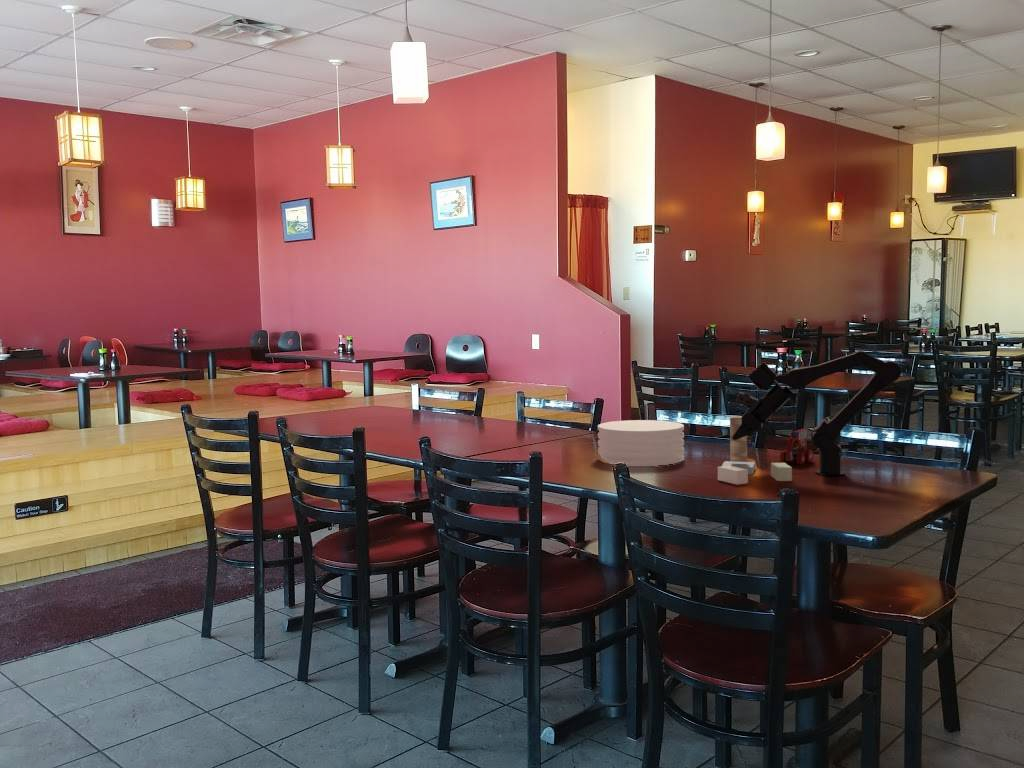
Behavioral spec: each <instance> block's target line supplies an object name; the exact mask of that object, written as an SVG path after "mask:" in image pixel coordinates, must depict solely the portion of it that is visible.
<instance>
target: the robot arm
mask: <svg viewBox="0 0 1024 768" xmlns="http://www.w3.org/2000/svg"><path fill="white" fill-rule="evenodd" d="M858 366H862V367H864V368H866V369H868V370H870V371H872V372H873V374H872V375H871V377H870V379H869V380H868V382H867V383H866V384H865V385H864V386H862V388H861V389H860V390H859V391H858V392H857V393H856V394H855V395H854V396H853V397H852V398H851V399H850V401H848V402H847V403H846V404H845V406H844V407H842V408H841V410H839V412H838V413H836V415H835V416H833V417H832V418H831V419H829V420H828V421H827V420H826V419H825V418H823V419H822V420H821V421H820V423H819V424H818V425H817V426H815V427H814V428H813V433H812V444H813V445H814V447H816V448H817V449H819V467H818V468H819V469H818V470H814V473H815V474H818V475H820V474H821V475H820V476H823V475H824V477H829V476H828V475H837V476H844V475H843V474H845V475H846V473H845V472H843V471H841V462H842V461H841V456H842V455H841V452H842V448H841V443H839V442H838V441H837V438H838V437H839V435H840V434H841V432H842V430H843V429H844V427H846V425H847V424H848V423H849V422H851V420H853V418H854V417H855V416H856V415H857V414H858V413H859V412H861V410H863V409H864V407H866V405H867V404H868V403H870V401H871V400H872V399H873V398H874V397H875V396H876V395H877V394H878V393H880V392H881V391H883V390H884V389H886V388H887V387H889V386H891V385H892V384H893V383H895V382H896V381H897V380H899V379H900V378H901V375H902V369H901V366H900V365H899V364H898V363H897V362H895V361H893V360H882V359H880V358H877V357H875V356H872V355H870V354H869V353H866V352H865V351H862V350H857V351H855V352H854V353H850V354H848V355H844V356H841V357H838V358H835V359H832V360H829V361H826V362H822V363H820V364H817V365H810V366H802V367H795V368H791V370H789V371H788V372H784V373H778V374H777V373H776V372H774V370H772V369H771V368H770V367H769V366H768V364H767V363H766V362H764V361H763V362H762V363H761V364H760V365H759V366H758V367H757V368H755V369H754V370H753V371H752V372H751V373H750V374H749V375H748V376H746V378H747V379H748V380H749V381H750V382H751V383H752V385H754V386H755V387H756V388H757V389H758V390H759V391H760V392H761V391H762V390H763V391H766V393H765V394H764V395H763V396H760V397H759V398H756V397H754V396H752V395H751V394H750V393H747V392H743V391H739V393H738V395H737V396H736V399H735V401H734V402H735V403H737V404H738V405H742V406H745V407H747V410H745V412H744V413H743V415H741V416H742V418H741V419H742V424H741V426H740V427H739V429H738V430H737V431H736V433H735V434H734V436H733V437H732V439H733V440H737V439H739V438H742V437H744V436H747V437H748V435H752V434H754V433H758V432H759V431H760V430H762V428H763V425H764V424H765V423H766V422H767V421H768V420H769V418H771V417H772V416H773V415H775V414H776V413H777V411H778V410H779V409H781V407H782V406H783V405H784V404H786V403H787V402H788V401H790V400H791V401H792V402H794V403H796V402H797V398H798V397H797V396H798V391H794V392H793V390H800V389H802V388H804V387H806V386H807V385H810V384H811V383H813V382H815V381H817V380H818V379H821V378H823V377H827V376H831V375H834V374H836V373H839V372H843V371H845V370H849V369H853V368H855V367H858ZM774 384H775V385H774ZM781 384H782V385H781ZM783 384H784V387H783ZM772 385H774V386H772ZM771 387H772V388H771ZM769 388H771V389H769ZM790 388H791V389H793V390H791V389H790ZM767 390H768V391H767Z"/></svg>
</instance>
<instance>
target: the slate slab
mask: <svg viewBox="0 0 1024 768" xmlns="http://www.w3.org/2000/svg"><path fill="white" fill-rule="evenodd" d="M755 462H756V461H755ZM755 462H754V461H730V460H729V461H727V460H724V462H722V465H721V466H733V467H738V468H743V469H747V470H748V475H753V474H754V472H755V469H756V463H755Z"/></svg>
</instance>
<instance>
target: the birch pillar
mask: <svg viewBox="0 0 1024 768" xmlns="http://www.w3.org/2000/svg"><path fill="white" fill-rule="evenodd" d="M742 416H743V415H731V416H730V417H729V438H730V439H729V445H730V446H729V449H730V451H729V455H730V460H729V461H732V462H747V460H748V435H747V436H744V437H742V438H739V439H737V440H733V439H732V437H733V436H734V434H735V433H736V431H737V430H738V429H739V427H740V426H741V424H742V419H741V418H742Z"/></svg>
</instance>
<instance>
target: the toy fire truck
mask: <svg viewBox="0 0 1024 768" xmlns="http://www.w3.org/2000/svg"><path fill="white" fill-rule="evenodd" d="M808 435H809V434H808V429H807V428H802V429H798V430H797V429H796V430H793V431H791V432H790V437H788V440H787V445H786V449H783V450H781V452H780V454H779V455H780V456H779V460H780V463H786V464H788V462H793V463H795V462H796V464H797V465H799V464H803V465H804V464H805V463H808V462H810V463H812V461H813V458H814V453H813V450H811V449H807V447H808V445H807V444H808Z"/></svg>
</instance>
